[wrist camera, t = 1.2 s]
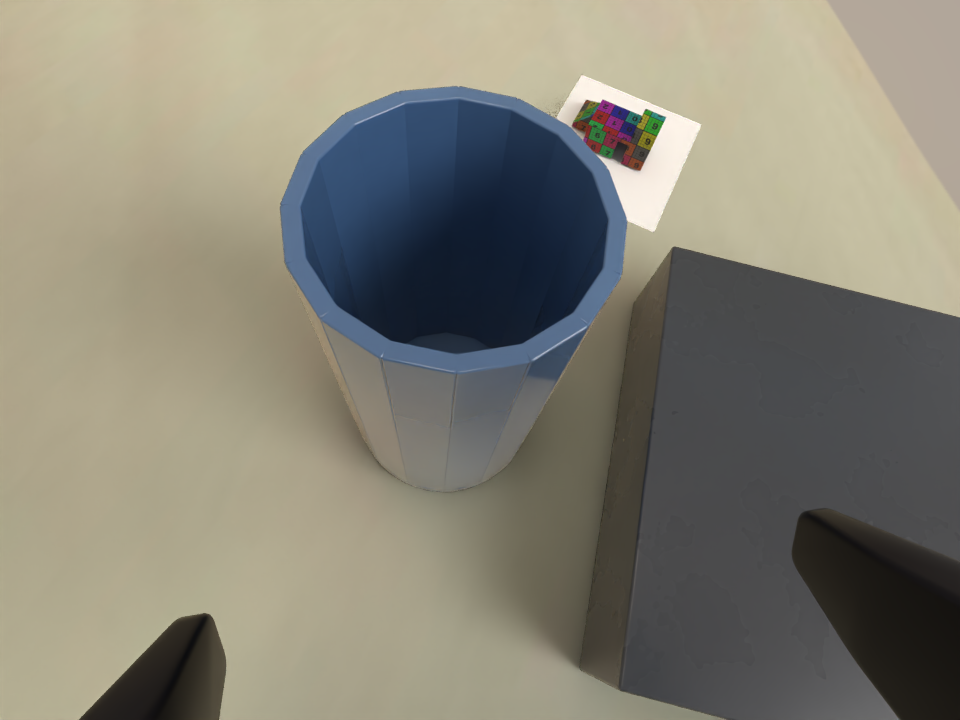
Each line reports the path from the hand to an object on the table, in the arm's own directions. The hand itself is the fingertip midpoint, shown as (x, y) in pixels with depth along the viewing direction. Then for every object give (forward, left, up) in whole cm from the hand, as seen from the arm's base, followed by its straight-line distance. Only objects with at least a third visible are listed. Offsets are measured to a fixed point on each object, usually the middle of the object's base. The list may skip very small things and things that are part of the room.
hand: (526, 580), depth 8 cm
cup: (+6, -3, -13) cm, 14 cm away
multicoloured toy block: (+13, -18, -13) cm, 26 cm away
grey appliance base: (-4, -11, -13) cm, 17 cm away
